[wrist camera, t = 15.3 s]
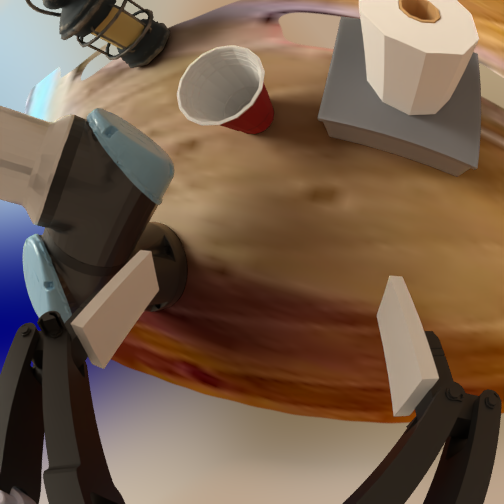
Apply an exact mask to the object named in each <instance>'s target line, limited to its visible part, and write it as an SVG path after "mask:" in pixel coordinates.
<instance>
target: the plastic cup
mask: <svg viewBox="0 0 504 504" xmlns="http://www.w3.org/2000/svg"><path fill="white" fill-rule="evenodd" d="M264 75H265V72H264V69H263V66H262V63H261V61H260V58H259V57H258V56H257V55H255V54H254V53H253V52H252V51H251V50H249V49H248V48H244V47H240V46H236V45H229V46H221V47H216V48H214V49H212V50H210V51H208V52H205V53H203V54H201V55H200V56H199V57H198V58H197V59H196V60H195V61H193V62H192V63H191V64H190V65H189V66H188V68H187V69H186V71H185V73H184V74H183V76H182V78H181V79H180V83H179V87H178V92H177V98H178V104H179V109H180V110H181V111H182V113H183V114H184V115H185V116H186V118H187V119H188V120H190V121H193V122H195V123H197V124H200V125H221V126H224V127H227V128H231V129H234V130H237V131H242V132H244V133H247V134H257V133H260V132H263V131H264V130H265V129H267V128H268V127H269V126H270V124H271V123H272V121H273V117H274V110H273V107H272V104H271V101H270V98H269V95H268V92H267V90H266V87H265V85H264V82H263V81H264Z"/></svg>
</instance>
